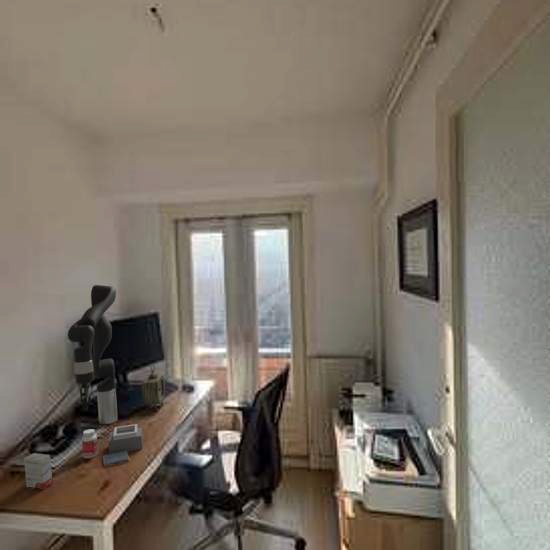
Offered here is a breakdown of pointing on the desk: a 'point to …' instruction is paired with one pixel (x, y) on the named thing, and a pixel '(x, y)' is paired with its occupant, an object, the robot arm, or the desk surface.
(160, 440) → the desk surface
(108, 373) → the robot arm
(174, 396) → the desk surface
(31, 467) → the ink box
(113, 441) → the display riser
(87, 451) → the pill bottle
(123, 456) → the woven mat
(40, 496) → the desk surface
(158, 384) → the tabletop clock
